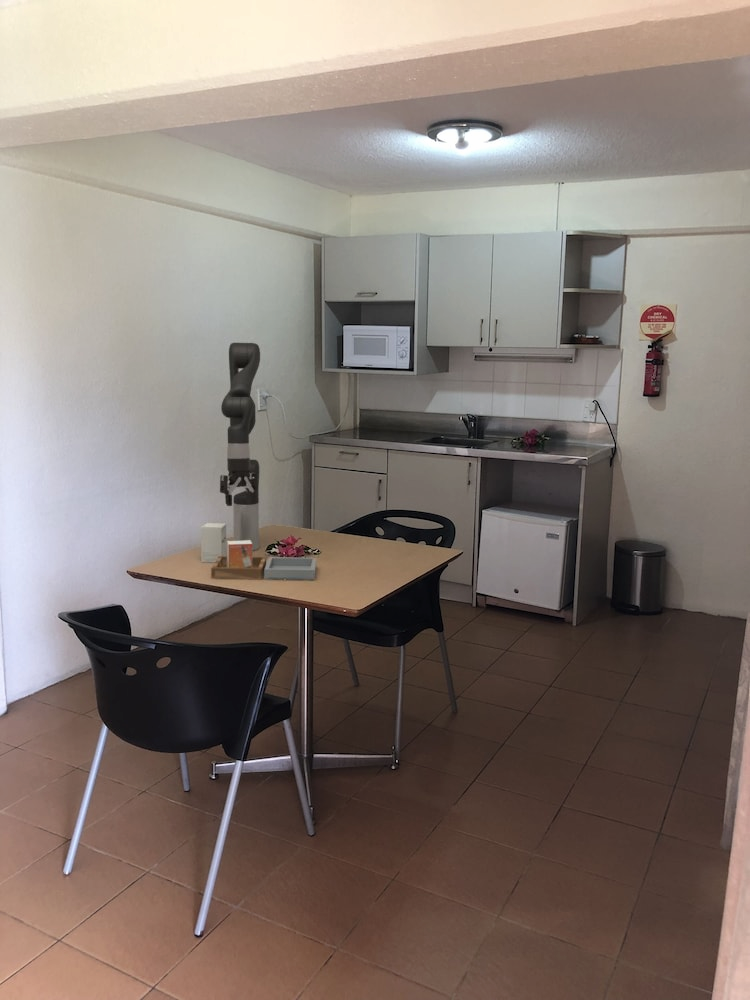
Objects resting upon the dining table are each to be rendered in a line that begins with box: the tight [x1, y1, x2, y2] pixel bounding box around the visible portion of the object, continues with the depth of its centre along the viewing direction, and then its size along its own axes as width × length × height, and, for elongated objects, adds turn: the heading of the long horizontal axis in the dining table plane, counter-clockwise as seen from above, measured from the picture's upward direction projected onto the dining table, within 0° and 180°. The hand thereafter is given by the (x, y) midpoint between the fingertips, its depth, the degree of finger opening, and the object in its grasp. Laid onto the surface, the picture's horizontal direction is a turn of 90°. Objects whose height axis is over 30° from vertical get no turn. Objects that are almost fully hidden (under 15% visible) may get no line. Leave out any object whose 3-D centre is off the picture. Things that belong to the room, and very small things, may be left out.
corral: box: [210, 555, 267, 581], centre depth 274 cm, size 16×16×4 cm
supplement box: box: [200, 522, 227, 564], centre depth 288 cm, size 7×7×13 cm
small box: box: [226, 540, 253, 568], centre depth 273 cm, size 8×6×10 cm
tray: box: [263, 556, 317, 581], centre depth 274 cm, size 16×16×4 cm
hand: (239, 504), depth 280 cm, fingers open, 8 cm apart
